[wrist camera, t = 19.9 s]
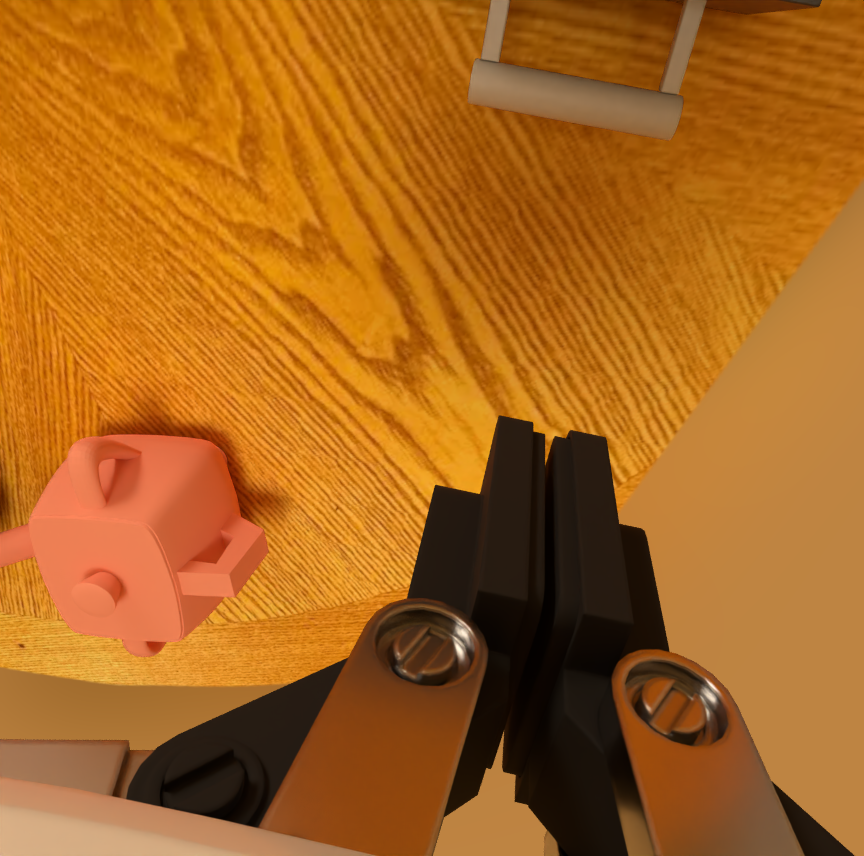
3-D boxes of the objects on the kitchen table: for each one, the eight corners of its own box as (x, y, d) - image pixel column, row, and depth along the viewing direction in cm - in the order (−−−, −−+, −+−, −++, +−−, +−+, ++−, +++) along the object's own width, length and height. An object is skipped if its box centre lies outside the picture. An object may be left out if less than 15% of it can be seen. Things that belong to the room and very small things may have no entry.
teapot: (52, 479, 43) (-67, 586, 35) (156, 366, 38) (46, 459, 30) (197, 594, 46) (119, 718, 38) (312, 504, 41) (251, 623, 33)
